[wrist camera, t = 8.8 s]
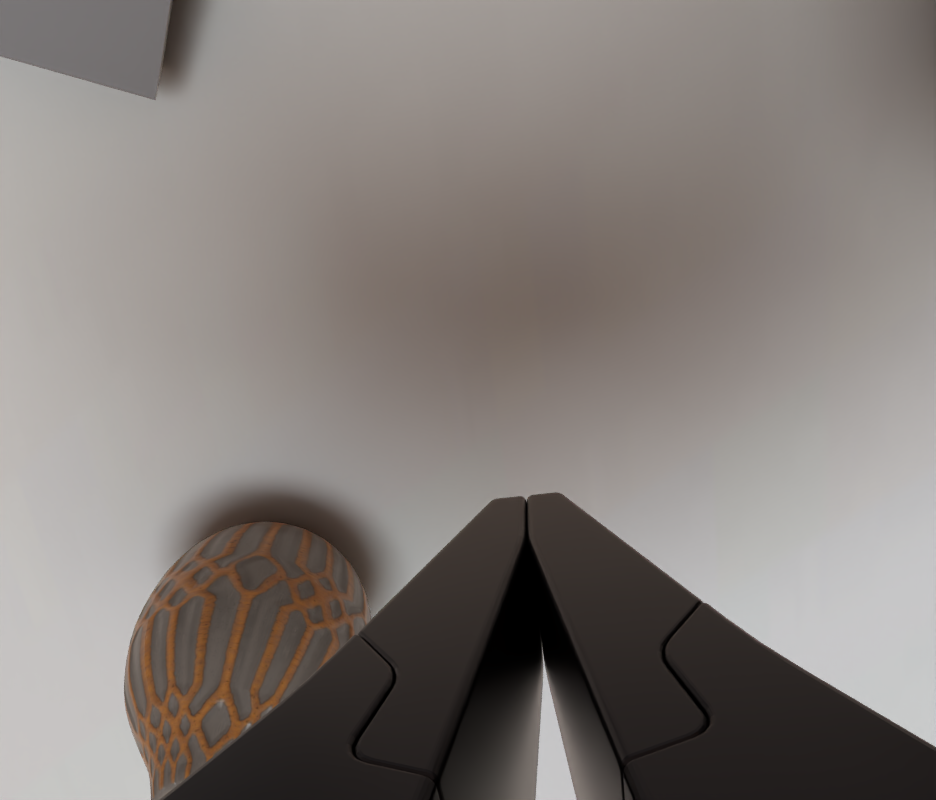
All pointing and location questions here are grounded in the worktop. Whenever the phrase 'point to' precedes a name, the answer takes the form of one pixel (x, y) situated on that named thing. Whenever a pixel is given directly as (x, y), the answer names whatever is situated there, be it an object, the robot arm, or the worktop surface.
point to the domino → (90, 39)
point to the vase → (233, 640)
